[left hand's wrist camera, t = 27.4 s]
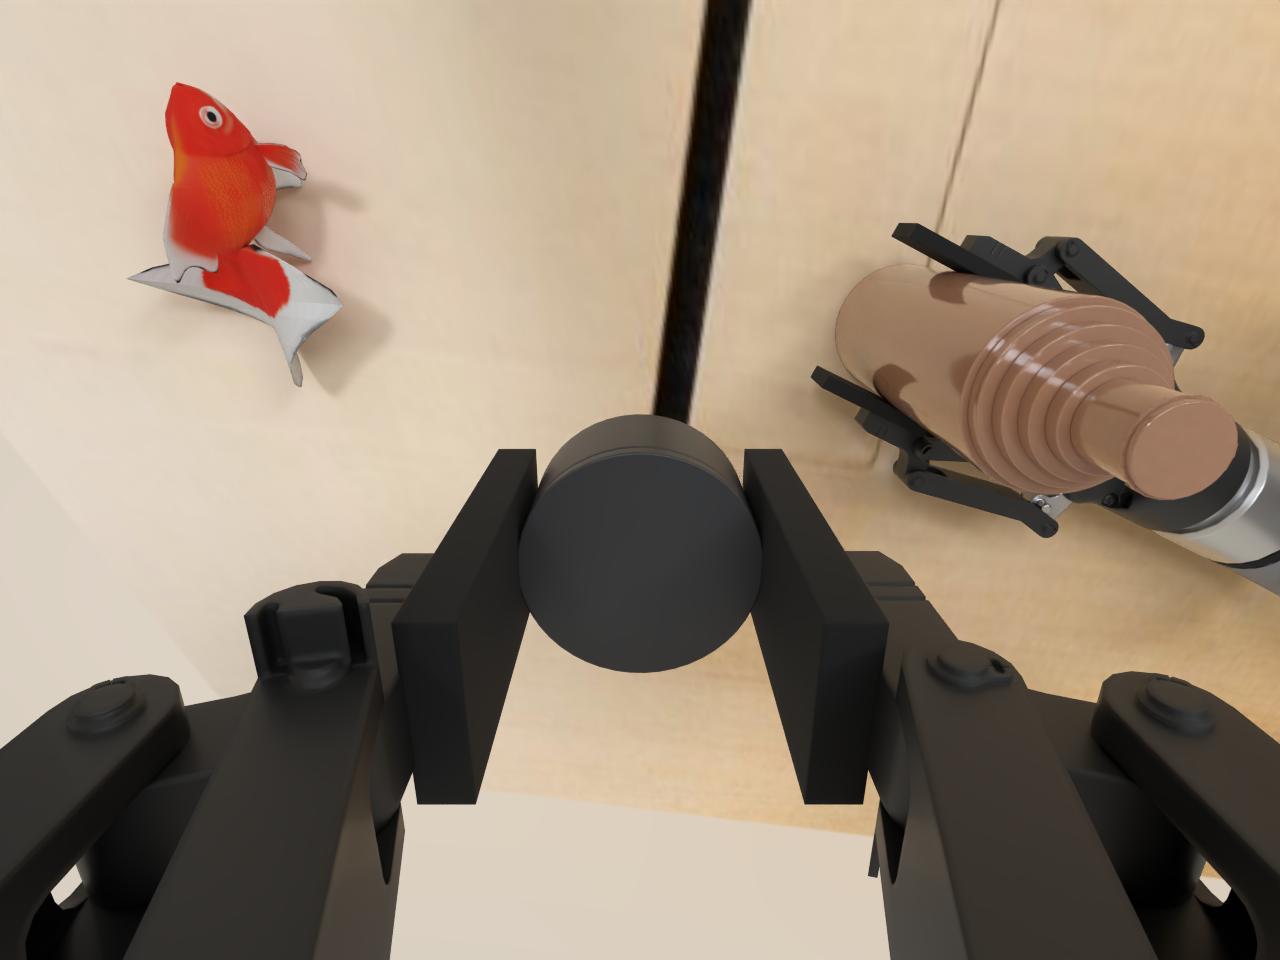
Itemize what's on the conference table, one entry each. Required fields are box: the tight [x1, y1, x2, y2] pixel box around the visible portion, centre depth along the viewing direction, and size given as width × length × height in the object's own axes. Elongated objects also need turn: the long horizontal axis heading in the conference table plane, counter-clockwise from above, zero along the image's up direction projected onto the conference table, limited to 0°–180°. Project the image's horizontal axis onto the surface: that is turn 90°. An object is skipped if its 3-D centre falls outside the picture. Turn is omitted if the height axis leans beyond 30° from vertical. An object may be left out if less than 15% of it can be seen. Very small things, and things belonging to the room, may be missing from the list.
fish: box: [127, 82, 344, 387], centre depth 38 cm, size 11×16×10 cm
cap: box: [518, 414, 763, 673], centre depth 13 cm, size 4×4×2 cm
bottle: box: [835, 264, 1238, 500], centre depth 32 cm, size 8×8×25 cm
